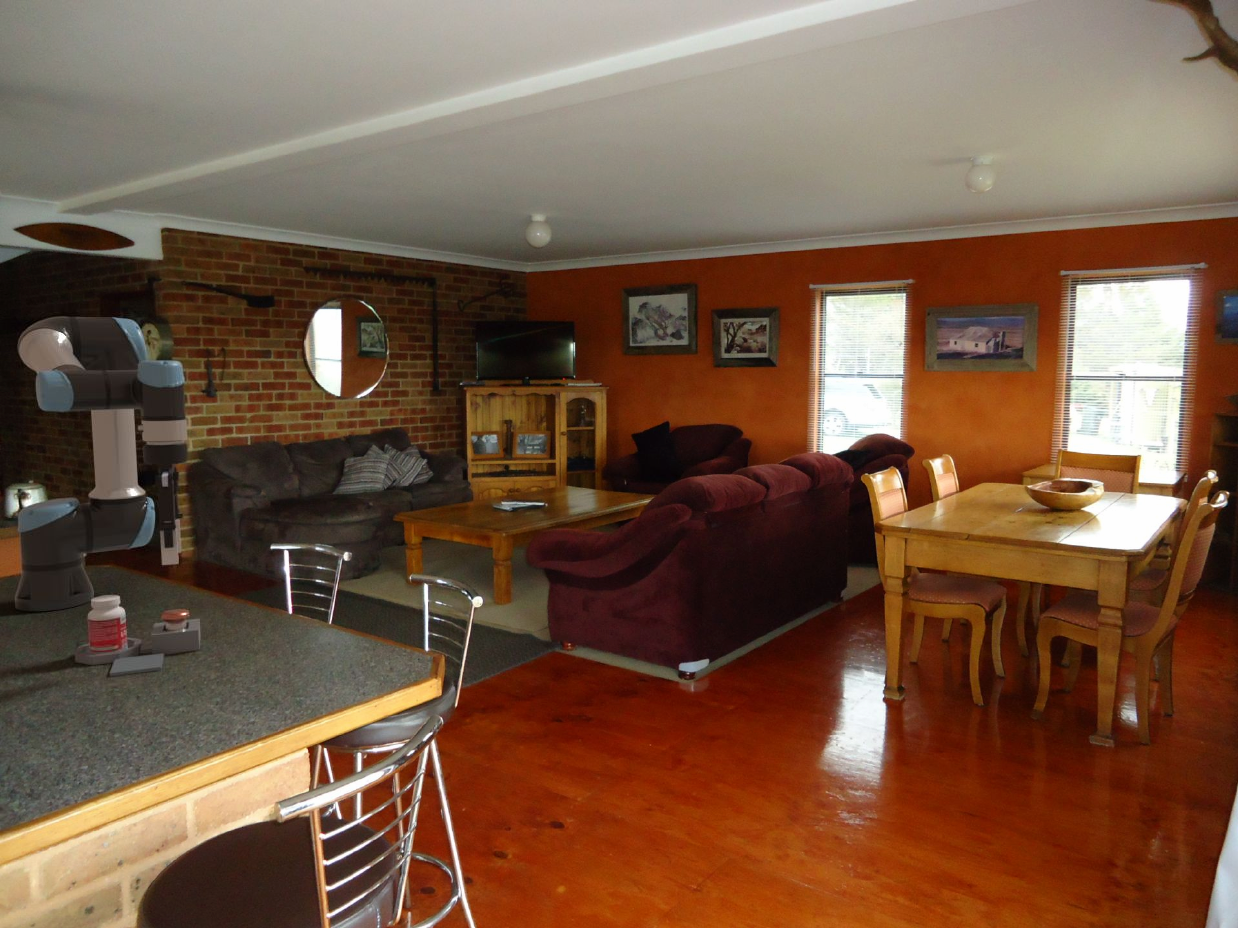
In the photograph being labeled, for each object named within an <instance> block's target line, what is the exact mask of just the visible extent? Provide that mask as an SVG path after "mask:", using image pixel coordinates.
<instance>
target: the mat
mask: <svg viewBox="0 0 1238 928" xmlns="http://www.w3.org/2000/svg"><path fill="white" fill-rule="evenodd" d="M164 658H165V654H164V653H160V654H142V655H137V656H134V657H126V658H120V659H115V660H114V663H112V666H111V669H110V672H109V677H116V676H117V677H118V676H125V675H133V674H142V673H148V672H155V671H156V672H157V671H162V667H163V663H164Z"/></svg>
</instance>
